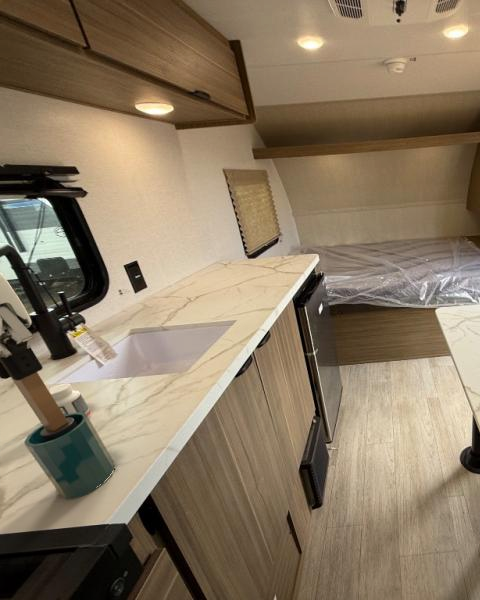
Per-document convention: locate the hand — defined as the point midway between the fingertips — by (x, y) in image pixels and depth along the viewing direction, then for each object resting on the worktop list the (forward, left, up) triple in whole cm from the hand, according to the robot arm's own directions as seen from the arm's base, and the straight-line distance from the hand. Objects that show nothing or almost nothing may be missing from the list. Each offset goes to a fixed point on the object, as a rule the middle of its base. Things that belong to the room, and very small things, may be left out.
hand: (22, 373), depth 48 cm
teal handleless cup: (0, 0, -23) cm, 23 cm away
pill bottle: (-21, +11, -23) cm, 33 cm away
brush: (0, 0, -17) cm, 17 cm away
